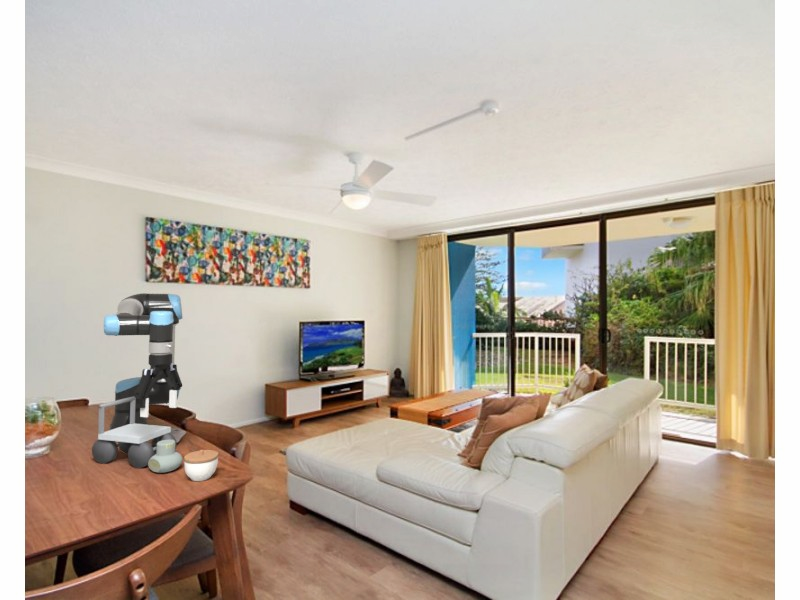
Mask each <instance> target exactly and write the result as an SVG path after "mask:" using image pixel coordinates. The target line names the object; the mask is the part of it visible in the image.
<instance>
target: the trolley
mask: <svg viewBox="0 0 800 600" xmlns="http://www.w3.org/2000/svg"><path fill="white" fill-rule="evenodd" d="M135 400H136V398H135V397H134V396H133V397H129V398H124V399H120V400H116V401H115V400H113V401H108V402H105V403H100V404H99V405H98V430H97V431H98V432H97V434H98V436H97V439H96V440H95V441H94V443H93V444H92V447H91V454H92V457H93V459H94V460H95V461H96V462H97V463H99V464H103V465H104V464H107V463H109V462H110V463H111V462H112V461H113V460H115V459H116V457H117V455H118V451H119V450H120V451H121V453H124V454H126V455H127V457H128V462H129V464H130V465H132V467H133V468H137V469H142V468H145V467H146V466H148V461H149V460H150V458H151V457H152V456H154V455H155V454H156V450H157V443H158V442H159V441H162V440H174V441H175V451H176V449H177V444H176V440H175V438H174V436H173V435H172V434H170V433H169V432H171V428H172V426H165V425H156V424H148V425H146V424H136V423H135ZM129 401H130V424H128V425H125V426H122V427H119V428H115V429H112V430H110V429H109V430H106V431H105V408H110V407H113V406H115V405H117V404H121V403H125V402H129ZM153 438H154V439H153ZM150 440H152V442H151V443H149V441H150ZM118 448H119V449H118Z"/></svg>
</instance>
